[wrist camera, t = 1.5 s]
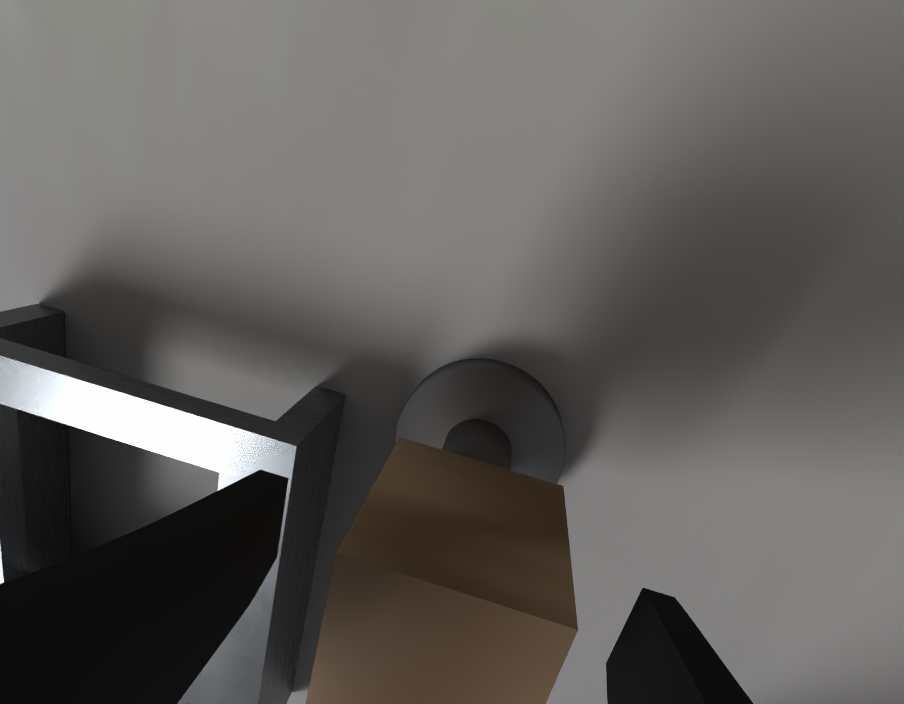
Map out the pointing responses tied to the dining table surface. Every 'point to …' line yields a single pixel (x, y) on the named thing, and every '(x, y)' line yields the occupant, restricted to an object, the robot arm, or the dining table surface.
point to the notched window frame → (177, 436)
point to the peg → (456, 553)
